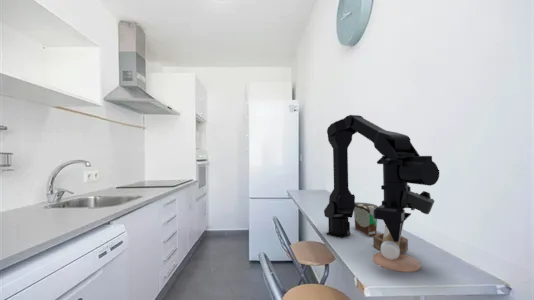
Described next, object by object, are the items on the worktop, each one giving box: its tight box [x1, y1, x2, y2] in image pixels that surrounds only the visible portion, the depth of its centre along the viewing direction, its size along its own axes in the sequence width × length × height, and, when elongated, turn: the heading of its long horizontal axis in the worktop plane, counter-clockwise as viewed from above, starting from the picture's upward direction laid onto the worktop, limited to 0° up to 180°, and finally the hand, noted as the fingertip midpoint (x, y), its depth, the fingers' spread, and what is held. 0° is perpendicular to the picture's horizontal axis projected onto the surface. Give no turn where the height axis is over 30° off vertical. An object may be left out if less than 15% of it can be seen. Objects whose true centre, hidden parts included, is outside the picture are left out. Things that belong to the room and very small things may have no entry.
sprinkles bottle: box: [379, 224, 402, 260], centre depth 72 cm, size 5×5×14 cm
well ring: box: [372, 232, 409, 254], centre depth 78 cm, size 9×9×3 cm
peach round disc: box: [373, 251, 421, 273], centre depth 67 cm, size 11×11×1 cm
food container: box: [353, 201, 379, 238], centre depth 94 cm, size 12×6×10 cm, turn 9°
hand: (396, 241), depth 67 cm, fingers closed
